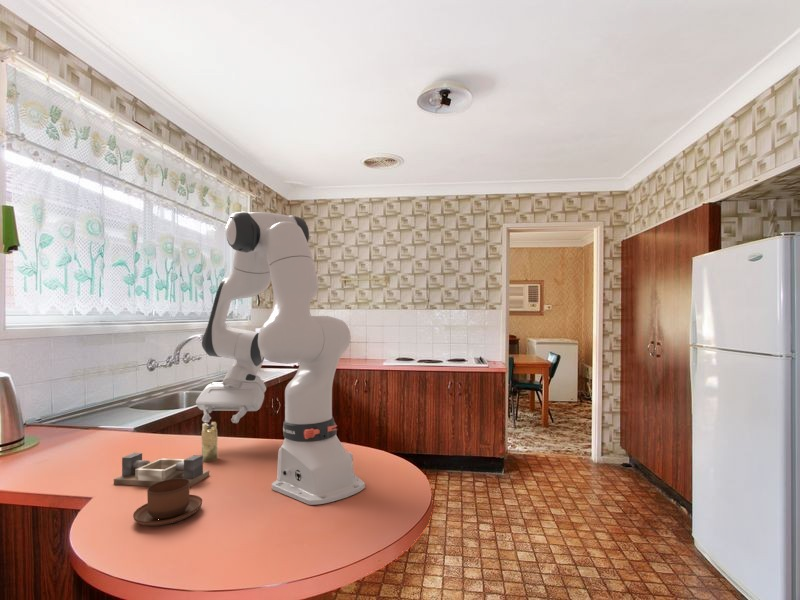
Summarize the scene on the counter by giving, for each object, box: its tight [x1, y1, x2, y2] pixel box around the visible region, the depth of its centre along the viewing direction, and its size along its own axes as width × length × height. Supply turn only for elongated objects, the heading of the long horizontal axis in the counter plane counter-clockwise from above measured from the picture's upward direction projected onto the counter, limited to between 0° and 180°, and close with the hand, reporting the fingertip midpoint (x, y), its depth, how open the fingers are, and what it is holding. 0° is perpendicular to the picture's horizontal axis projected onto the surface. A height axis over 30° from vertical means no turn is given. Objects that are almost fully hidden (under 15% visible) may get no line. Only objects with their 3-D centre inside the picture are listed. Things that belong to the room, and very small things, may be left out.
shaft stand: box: [113, 452, 210, 488], centre depth 103 cm, size 20×8×6 cm, turn 79°
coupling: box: [201, 421, 218, 463], centre depth 118 cm, size 4×4×10 cm
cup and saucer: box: [132, 478, 203, 527], centre depth 83 cm, size 12×12×6 cm
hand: (219, 421), depth 122 cm, fingers open, 8 cm apart
